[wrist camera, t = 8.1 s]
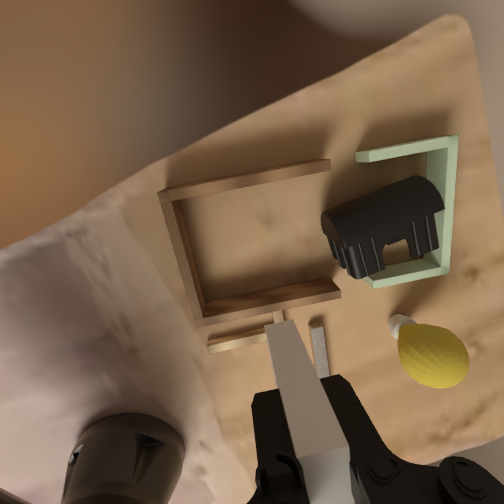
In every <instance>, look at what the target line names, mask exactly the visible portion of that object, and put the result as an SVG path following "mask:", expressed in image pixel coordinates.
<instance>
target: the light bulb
mask: <svg viewBox="0 0 504 504" xmlns="http://www.w3.org/2000/svg"><path fill="white" fill-rule="evenodd" d="M388 326H389V327H390V332H391V334H392V335H393V336H394V337H395V338H396V339H397V340H398V352H399V357H400V363H401V365H402V367H403V368H404V370H405V371H406V373H407V374H408V375H409V376H411V377H412V378H413V379H415V380H416V381H417V382H419V383H421V384H423V385H425V386H429V387H433V388H448V387H452V386H454V385H456V384H458V383H459V382H461V381H462V380H463V379H464V377H465V376H466V375H467V372H468V369H469V355H468V352H467V350H466V348H465V346H464V344H463V342H462V341H461V340H460V339H459V338H458V337H457V336H456V335H454V334H453V333H452V332H451V331H449V330H448V329H445V328H442V327H438V326H432V325H427V324H417V323H416V322H415V321H414V320H413V319H411V318H410V317H408V316H403V315H401V314H395V315H393V316H391V317H390V318H389V320H388Z"/></svg>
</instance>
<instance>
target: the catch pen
mask: <svg viewBox="0 0 504 504" xmlns="http://www.w3.org/2000/svg"><path fill="white" fill-rule="evenodd" d="M458 137H459V134H457V135H448V136H438V137H432V138H427V139H422V140H417V141H411V142H406V143H401V144H396V145H391V146H385V147H380V148H375V149H370V150H364V151H359V152H355V159H356V162H374V161H379V160H384V159H389V158H394V157H399V156H405V155H410V154H415V153H420V152H425V151H427V166H426V179H428V180H429V181H430V182H432V183H433V184H434V185H435V187H436V188H437V189H438V191H439V193H440V194H441V196H442V199H443V202H444V205H445V209H444V210H442V211H439V212H437V213H434V216H435V222H436V228H437V235H438V241H439V248H438V249H436V250H434V251H431V252H428V253H426V254H424V256H423V258H422V259H417V260H412V261H407V262H402V263H398V264H393V265H388V266H385V270H382V271H380V272H377V273H375V274H372V275H370V276H367V277H365V278H362V279H363V280H364V281H365V282H366V283H367V284H369V285H370V286H371V287H372V288H373V289H376V288H380V287H385V286H390V285H395V284H400V283H405V282H410V281H415V280H419V279H424V278H429V277H434V276H439V275H444V274H449V268H450V254H451V239H452V225H453V210H454V196H455V181H456V166H457V152H458Z"/></svg>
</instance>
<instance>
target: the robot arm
mask: <svg viewBox="0 0 504 504" xmlns="http://www.w3.org/2000/svg"><path fill="white" fill-rule="evenodd" d="M264 328H265V333H266V338H267V343H268V349H269V354H270V359H271V364H272V369H273V373H274V378H275V382H276V386H277V389H274V390H269V391H265V392H260V393H256V394H255V395H254V399H253V402H252V405H251V407H252V416H253V425H254V433H255V442H256V451H257V459H258V467H257V469H256V477H255V481H256V485H257V489H256V491H255V493H254V495H253V497H252V498H251V499H250V501H249V502H248V503H247V504H354V500H355V503H356V504H504V485H503V484H501V483H500V482H499V481H498V480H497V479H496V478H495V477H494V476H492V475H491V474H490V473H489V472H488V471H487V470H486V469H484V468H483V467H481V466H480V465H478V464H477V463H476V462H474V461H471V460H469V459H466V458H464V457H456V456H452V457H448V458H445V459H444V460H443V461H442V462H441V463H440V466H439V467H435V466H427V465H419V464H414V463H409V462H407V461H405V460H402V459H400V458H399V457H397V456H396V455H394V454H393V453H392V452H391V451H390V450H389V449H388V448H387V446H386V445H385V444H384V442H383V441H382V439H381V437H380V435H379V434H378V432H377V430H376V428H375V427H374V425H373V423H372V421H371V420H370V418H369V416H368V414H367V413H366V411H365V409H364V407H363V406H362V404H361V402H360V400H359V399H358V397H357V396H356V393H355V392H354V390H353V388H352V386H351V385H350V383H349V382H348V381H347V380H346V379H344V378H343V377H342V376H341V375H339V374H338V375H333V376H329V377H324V378H320V379H319V377H318V375H317V373H316V370H315V368H314V366H313V364H312V361H311V359H310V357H309V354H308V352H307V350H306V348H305V345H304V343H303V341H302V339H301V336H300V334H299V332H298V330H297V327H296V325H295V323H294V321H293V319H292V320H287V321H282V322H278V323H273V324H268V325H264ZM183 460H184V445H183V442H182V439H181V438H180V436H179V434H178V433H177V432H176V431H175V430H174V429H173V428H172V427H171V426H169V425H168V424H166V423H165V422H163V421H161V420H159V419H156V418H153V417H150V416H146V415H140V414H119V415H113V416H109V417H106V418H103V419H101V420H99V421H97V422H95V423H93V424H92V425H90V426H89V427H88V428H87V429H86V430H85V431H84V432H83V433H82V434H81V436H80V438H79V439H78V441H77V443H76V445H75V447H74V449H73V451H72V453H71V455H70V458H69V462H68V467H67V473H66V478H65V483H64V489H63V494H62V499H61V504H168V502H169V500H170V498H171V496H172V493H173V491H174V489H175V487H176V484H177V482H178V480H179V478H180V475H181V472H182V467H183ZM0 504H32V503H30V502H28V501H26V500H24V499H22V498H20V497H18V496H16V495H14V494H12V493H10V492H8V491H5V490H3V489H1V488H0Z"/></svg>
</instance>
